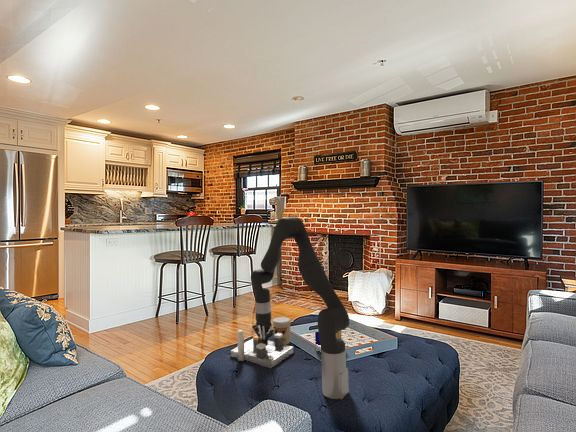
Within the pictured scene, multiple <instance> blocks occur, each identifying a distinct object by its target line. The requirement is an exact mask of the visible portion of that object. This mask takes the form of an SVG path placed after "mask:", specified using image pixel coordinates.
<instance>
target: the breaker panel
mask: <svg viewBox="0 0 576 432" xmlns="http://www.w3.org/2000/svg"><path fill="white" fill-rule="evenodd" d="M244 351H245V354H244V358H245V360H247V361H246V362H248V361H251V362H254V363H253V364H255V363H257V364H256V365H258V364H260V365H259V366H262V367H264V368H269V369H273V368H274V367H276V366H277V365H278V364H280V363H281V362H282V360H283V361H284V360H285V359H287V358H288V357H290V356H291V355H294V346H291V345H289V344H286V345H285V344H283V345H281V346H280V347H279V346H275V341H273V340H269V339H268V345H267V346H266V356H264V357H263V358H260V357H257V348H254V347H253V338H251V339H250V340H248V341H244ZM289 355H290V356H289ZM230 357H231V358H234V357H236V358H235V359H238V346H237V347H234V348H233V349H231V350H230ZM286 357H287V358H286ZM251 362H250V363H251ZM272 367H273V368H272Z"/></svg>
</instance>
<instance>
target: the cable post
mask: <svg viewBox="0 0 576 432" xmlns="http://www.w3.org/2000/svg"><path fill="white" fill-rule="evenodd" d="M244 331H245V330H243V329H239V330H237V331H236V334H237V347H238V358H237V362H239V361H244V360H245V358H244V354H245V351H244V343H245V333H244ZM244 362H245V361H244Z"/></svg>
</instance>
